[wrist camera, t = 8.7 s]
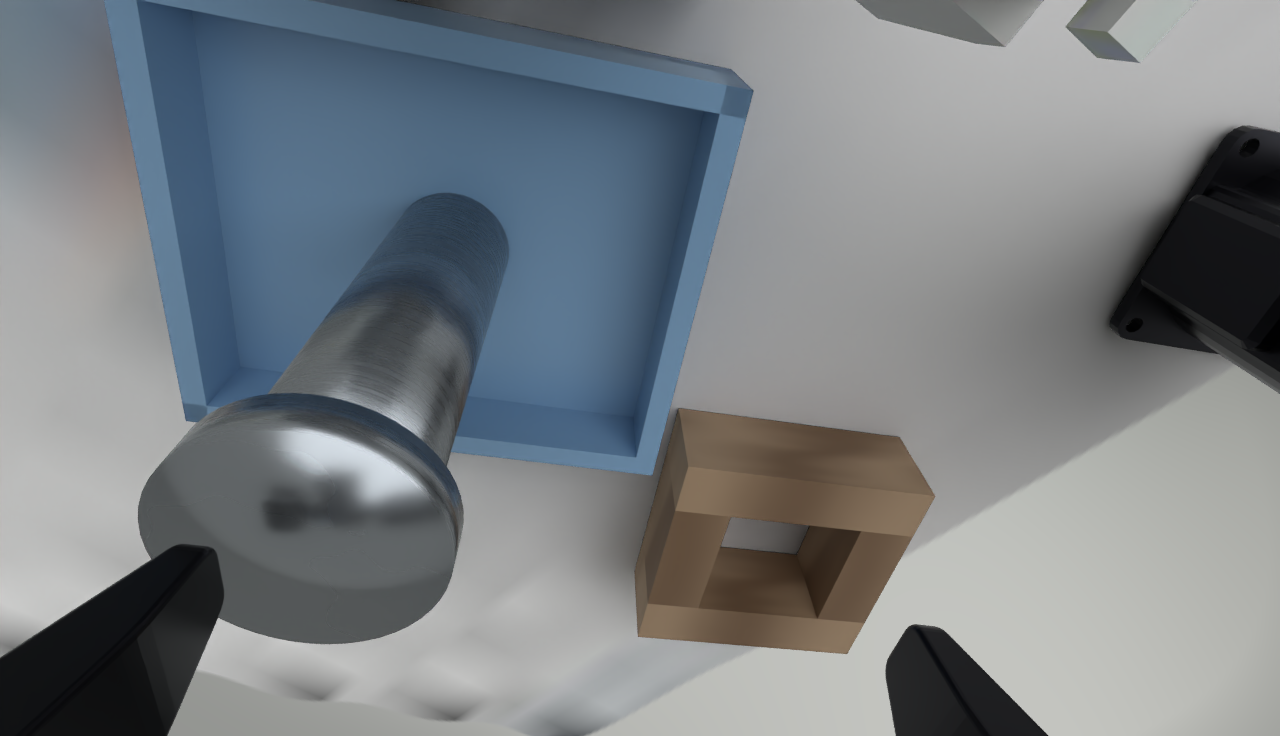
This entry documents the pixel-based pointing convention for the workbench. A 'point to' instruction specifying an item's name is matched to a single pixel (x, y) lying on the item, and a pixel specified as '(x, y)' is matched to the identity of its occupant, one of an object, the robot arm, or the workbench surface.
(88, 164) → the workbench surface
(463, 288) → the pin
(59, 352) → the workbench surface
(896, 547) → the hole block
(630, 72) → the tray
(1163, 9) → the circuit breaker
